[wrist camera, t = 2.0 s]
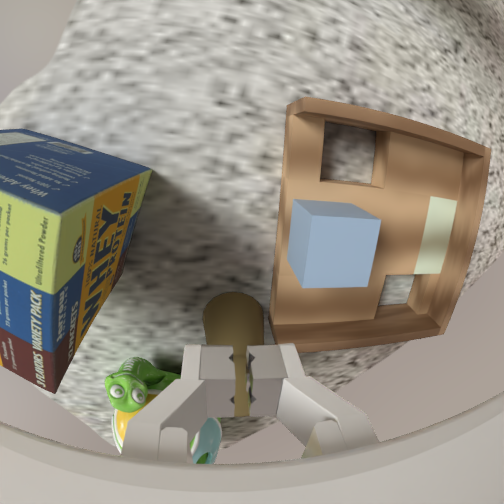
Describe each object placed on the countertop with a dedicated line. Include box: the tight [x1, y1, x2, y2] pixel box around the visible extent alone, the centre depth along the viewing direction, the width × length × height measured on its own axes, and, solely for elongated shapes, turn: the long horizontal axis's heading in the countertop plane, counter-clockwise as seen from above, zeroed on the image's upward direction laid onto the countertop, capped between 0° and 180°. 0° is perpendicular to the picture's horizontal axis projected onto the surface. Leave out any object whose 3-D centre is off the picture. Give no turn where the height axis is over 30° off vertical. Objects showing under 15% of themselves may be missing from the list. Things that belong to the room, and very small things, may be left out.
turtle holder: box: [105, 357, 222, 464], centre depth 26 cm, size 12×18×12 cm
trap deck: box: [268, 97, 491, 353], centre depth 24 cm, size 20×19×6 cm
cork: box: [203, 292, 264, 417], centre depth 24 cm, size 6×6×11 cm
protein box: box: [0, 129, 152, 394], centre depth 15 cm, size 10×15×16 cm
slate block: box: [287, 199, 381, 288], centre depth 21 cm, size 5×5×5 cm
